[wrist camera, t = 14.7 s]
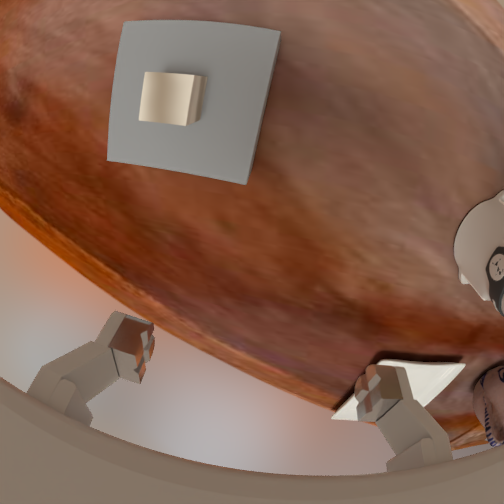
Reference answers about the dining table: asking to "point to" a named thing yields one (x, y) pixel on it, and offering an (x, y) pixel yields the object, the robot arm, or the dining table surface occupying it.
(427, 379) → the square plate
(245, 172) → the pedestal
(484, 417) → the ceramic pitcher
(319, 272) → the dining table surface
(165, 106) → the cream cube
